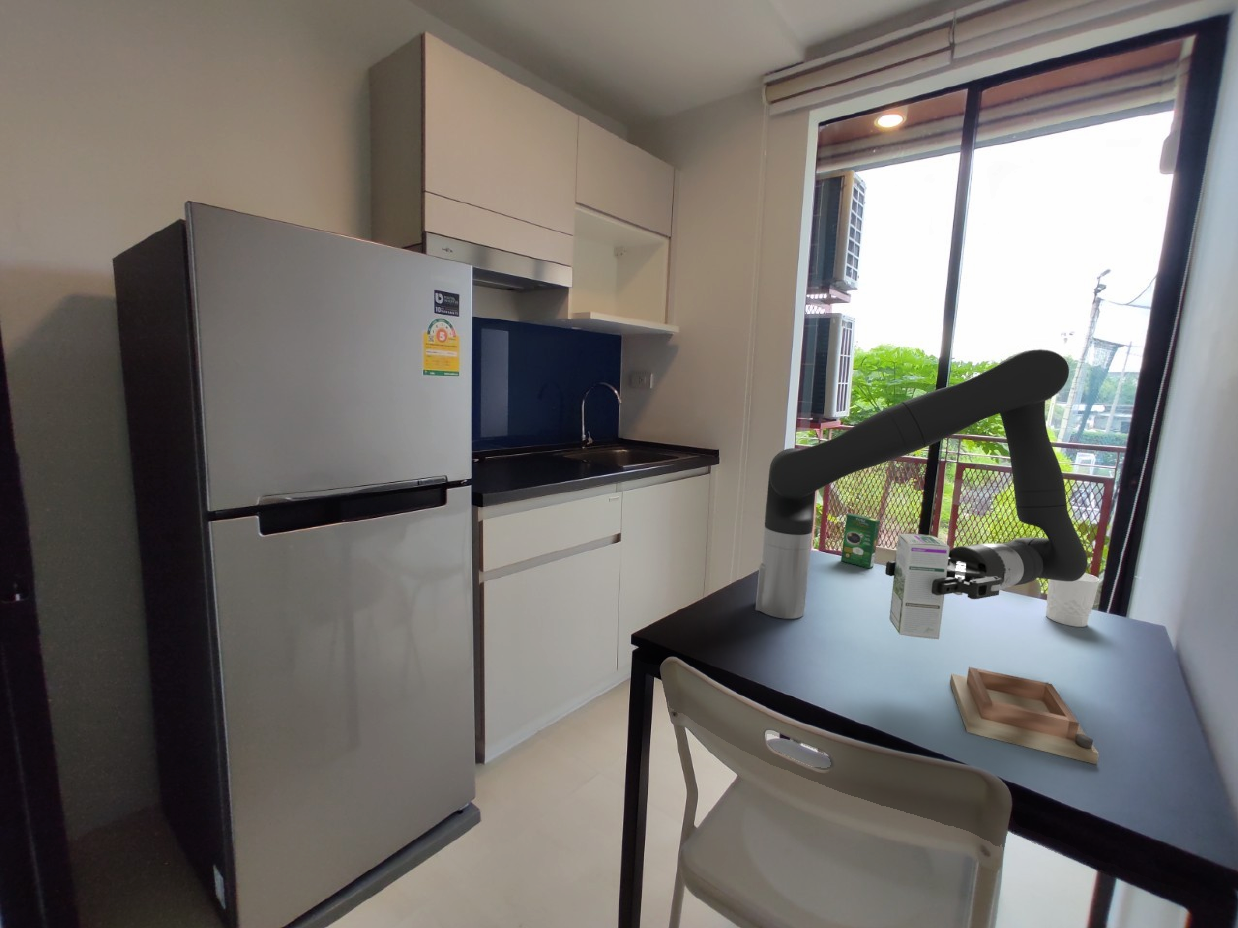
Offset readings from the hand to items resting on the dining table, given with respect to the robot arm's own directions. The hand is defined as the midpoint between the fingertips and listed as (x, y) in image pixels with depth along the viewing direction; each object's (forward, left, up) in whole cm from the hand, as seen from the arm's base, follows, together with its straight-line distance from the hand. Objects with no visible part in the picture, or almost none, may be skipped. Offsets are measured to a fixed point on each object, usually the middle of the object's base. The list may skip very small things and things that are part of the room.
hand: (909, 577), depth 81 cm
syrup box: (+1, +2, -9) cm, 9 cm away
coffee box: (-5, +64, -18) cm, 66 cm away
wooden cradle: (+15, -1, -18) cm, 23 cm away
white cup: (+35, +47, -18) cm, 61 cm away
